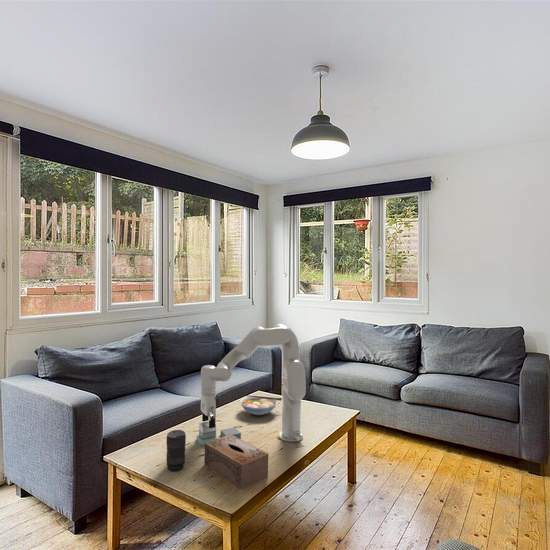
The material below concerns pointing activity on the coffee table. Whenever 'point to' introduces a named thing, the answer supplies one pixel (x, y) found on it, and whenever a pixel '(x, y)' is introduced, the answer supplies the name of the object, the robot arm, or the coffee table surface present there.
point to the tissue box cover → (236, 460)
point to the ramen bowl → (258, 404)
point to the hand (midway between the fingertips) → (208, 424)
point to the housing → (206, 431)
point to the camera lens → (176, 450)
